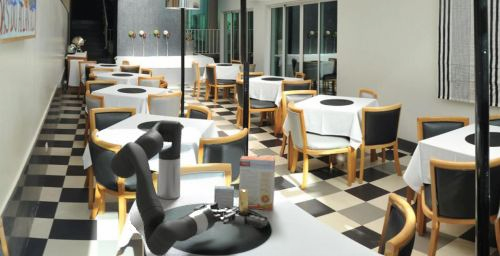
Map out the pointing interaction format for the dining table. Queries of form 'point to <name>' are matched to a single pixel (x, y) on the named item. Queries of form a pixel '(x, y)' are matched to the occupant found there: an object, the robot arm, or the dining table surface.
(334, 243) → the dining table surface
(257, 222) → the chain right
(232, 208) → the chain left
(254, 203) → the cracker box
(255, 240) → the dining table surface
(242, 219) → the link seat
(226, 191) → the medicine box
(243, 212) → the link pin
